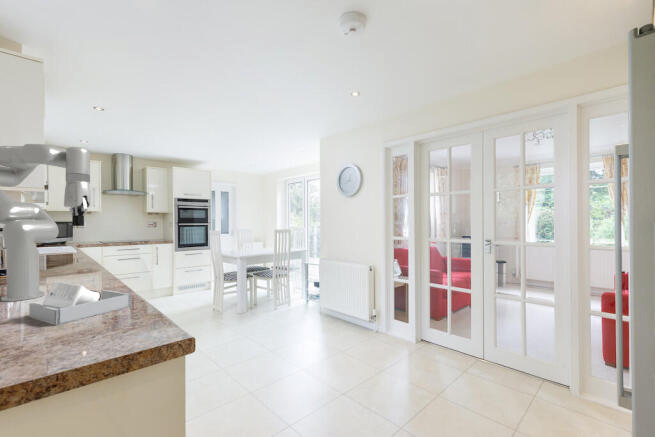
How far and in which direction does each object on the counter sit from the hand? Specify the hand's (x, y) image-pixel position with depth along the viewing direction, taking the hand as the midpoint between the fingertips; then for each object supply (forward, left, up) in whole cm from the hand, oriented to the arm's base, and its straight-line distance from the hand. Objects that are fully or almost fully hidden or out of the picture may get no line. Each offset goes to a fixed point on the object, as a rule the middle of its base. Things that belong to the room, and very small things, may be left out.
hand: (78, 225), depth 122 cm
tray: (+20, -8, -29) cm, 36 cm away
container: (+17, -16, -22) cm, 32 cm away
